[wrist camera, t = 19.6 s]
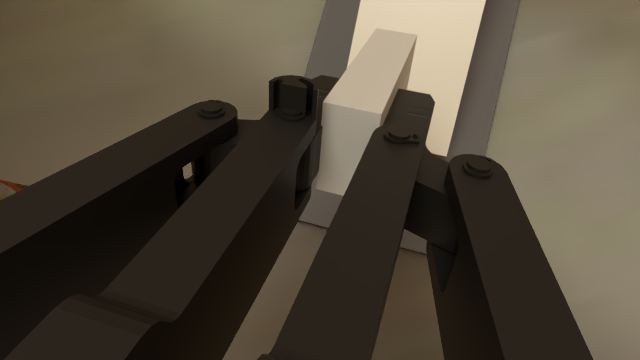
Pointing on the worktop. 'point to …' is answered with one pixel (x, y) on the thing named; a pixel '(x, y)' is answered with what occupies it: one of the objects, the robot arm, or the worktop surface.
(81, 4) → the worktop surface
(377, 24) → the domino
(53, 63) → the worktop surface
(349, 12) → the mat
